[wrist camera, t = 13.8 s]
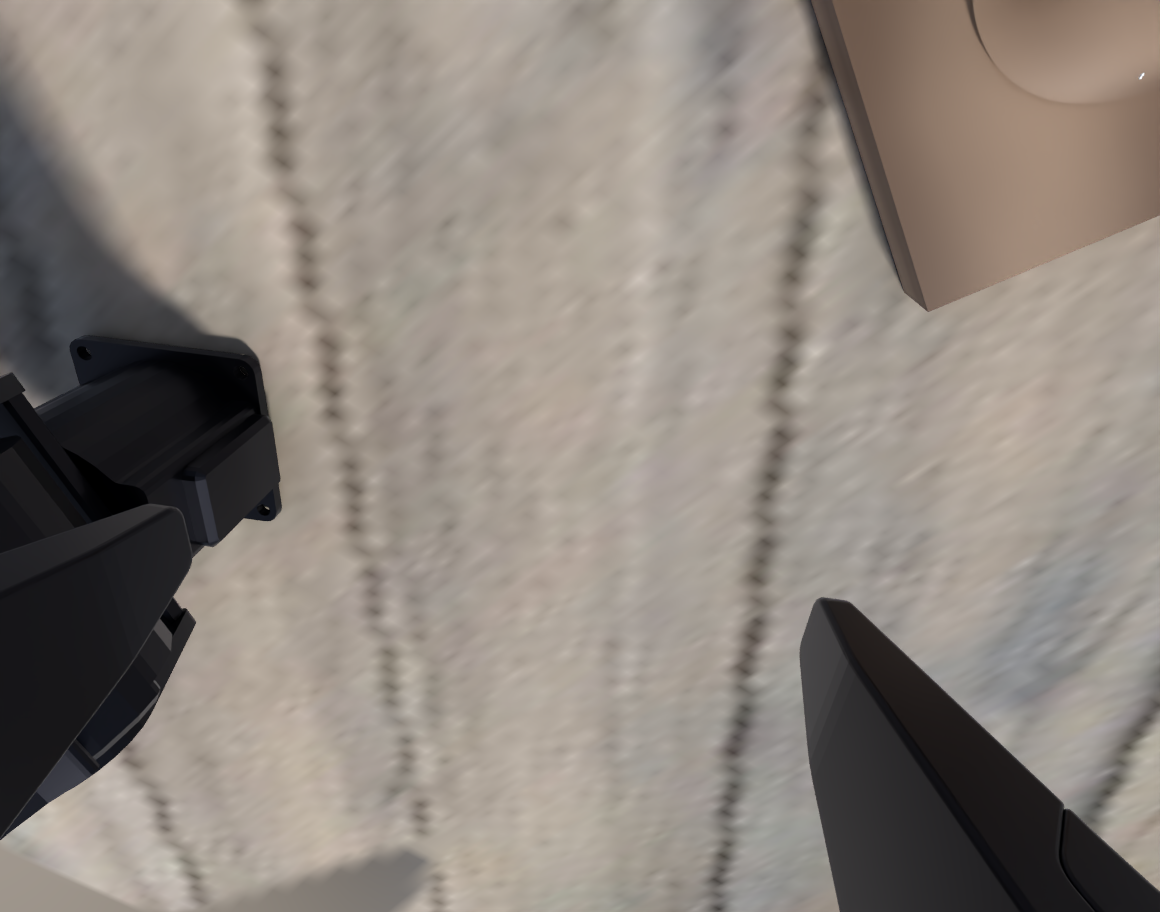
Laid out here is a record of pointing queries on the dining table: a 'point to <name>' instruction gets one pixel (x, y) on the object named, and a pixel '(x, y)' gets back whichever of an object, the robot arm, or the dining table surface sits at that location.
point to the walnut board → (979, 149)
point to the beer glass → (1074, 47)
